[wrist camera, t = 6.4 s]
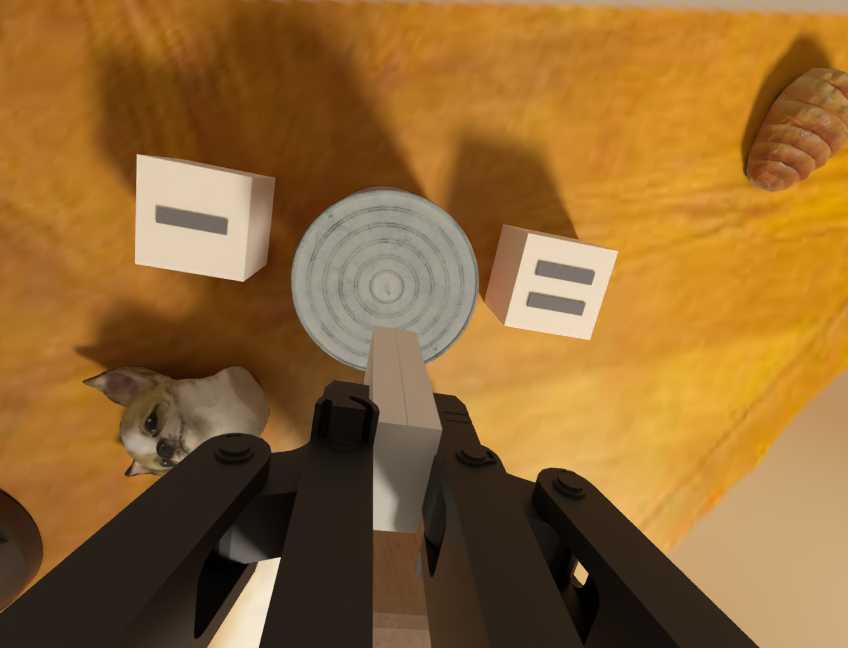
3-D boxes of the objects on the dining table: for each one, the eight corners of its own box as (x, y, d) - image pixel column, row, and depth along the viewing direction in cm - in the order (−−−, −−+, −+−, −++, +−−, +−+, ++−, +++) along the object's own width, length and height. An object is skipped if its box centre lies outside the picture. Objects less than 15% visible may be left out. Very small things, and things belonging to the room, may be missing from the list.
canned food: (476, 247, 39) (516, 274, 28) (393, 342, 41) (399, 405, 30) (373, 156, 36) (371, 145, 25) (289, 264, 38) (251, 300, 27)
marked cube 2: (178, 248, 37) (133, 264, 30) (182, 159, 35) (135, 154, 28) (267, 263, 38) (242, 282, 31) (275, 177, 36) (251, 177, 29)
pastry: (776, 206, 41) (814, 208, 37) (722, 166, 39) (756, 165, 36) (849, 107, 39) (897, 100, 35) (795, 62, 37) (839, 49, 34)
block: (365, 422, 43) (355, 612, 24) (466, 434, 45) (531, 623, 26) (350, 508, 46) (330, 739, 27) (445, 517, 48) (490, 742, 29)
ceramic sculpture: (274, 496, 35) (84, 529, 35) (299, 435, 43) (146, 462, 43) (231, 370, 31) (22, 408, 32) (268, 330, 40) (102, 360, 40)
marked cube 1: (483, 301, 41) (504, 326, 34) (502, 224, 39) (529, 233, 32) (556, 314, 42) (590, 340, 35) (578, 239, 40) (619, 251, 33)
